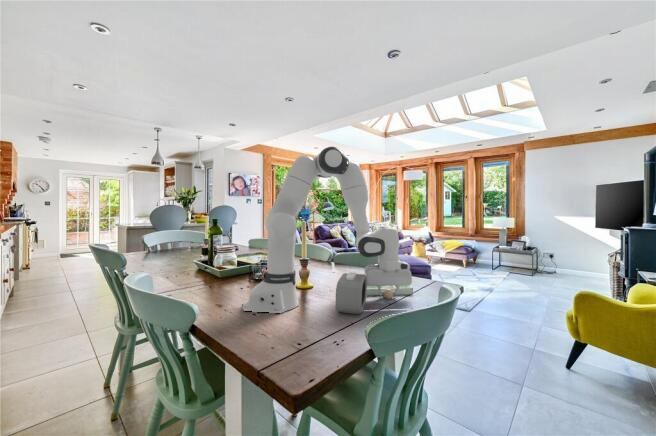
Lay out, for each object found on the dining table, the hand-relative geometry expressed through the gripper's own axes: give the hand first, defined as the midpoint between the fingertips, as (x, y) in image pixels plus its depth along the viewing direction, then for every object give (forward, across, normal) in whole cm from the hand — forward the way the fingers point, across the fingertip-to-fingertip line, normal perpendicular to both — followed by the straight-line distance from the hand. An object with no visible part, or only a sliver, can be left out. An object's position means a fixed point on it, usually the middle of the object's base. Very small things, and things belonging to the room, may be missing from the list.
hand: (388, 295), depth 121 cm
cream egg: (+1, +1, +8) cm, 8 cm away
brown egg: (+2, 0, 0) cm, 2 cm away
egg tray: (+2, +1, +12) cm, 12 cm away
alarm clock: (+2, -17, -9) cm, 19 cm away
